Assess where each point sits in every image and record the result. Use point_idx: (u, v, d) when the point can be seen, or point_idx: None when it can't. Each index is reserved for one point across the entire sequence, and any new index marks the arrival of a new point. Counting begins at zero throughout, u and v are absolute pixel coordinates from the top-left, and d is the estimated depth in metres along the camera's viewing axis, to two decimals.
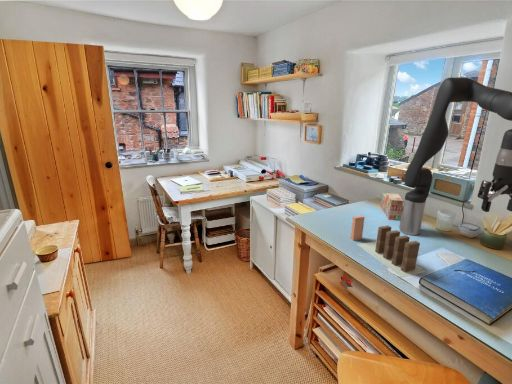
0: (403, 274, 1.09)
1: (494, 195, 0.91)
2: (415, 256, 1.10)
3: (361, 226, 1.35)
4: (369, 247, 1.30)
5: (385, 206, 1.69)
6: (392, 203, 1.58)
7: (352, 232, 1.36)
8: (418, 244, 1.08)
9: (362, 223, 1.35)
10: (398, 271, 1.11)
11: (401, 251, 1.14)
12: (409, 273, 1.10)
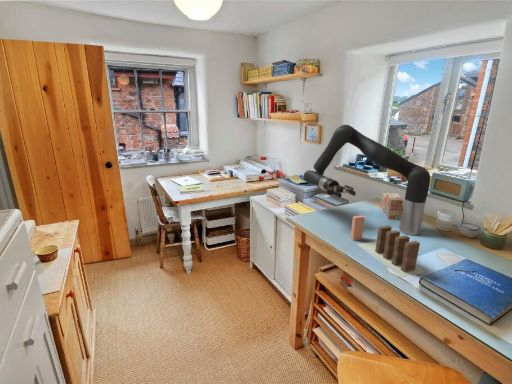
0: (403, 274, 1.09)
1: None
2: (415, 256, 1.10)
3: (361, 226, 1.35)
4: (369, 247, 1.30)
5: (385, 206, 1.70)
6: (392, 203, 1.58)
7: (352, 232, 1.36)
8: (418, 244, 1.08)
9: (362, 223, 1.35)
10: (398, 271, 1.11)
11: (401, 251, 1.14)
12: (409, 273, 1.10)
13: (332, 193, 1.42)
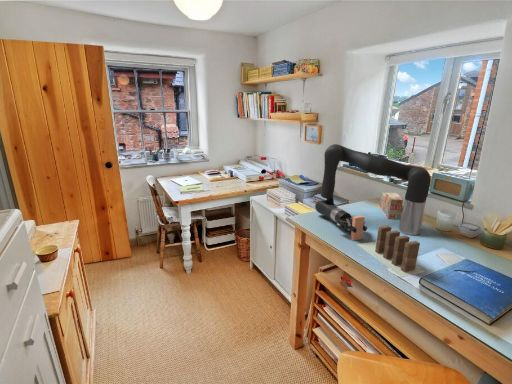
0: (403, 274, 1.09)
1: None
2: (415, 256, 1.10)
3: (361, 226, 1.35)
4: (369, 247, 1.30)
5: (384, 205, 1.70)
6: (392, 202, 1.59)
7: (352, 232, 1.36)
8: (418, 244, 1.08)
9: (362, 223, 1.35)
10: (398, 271, 1.11)
11: (401, 251, 1.14)
12: (409, 273, 1.10)
13: (347, 228, 1.36)
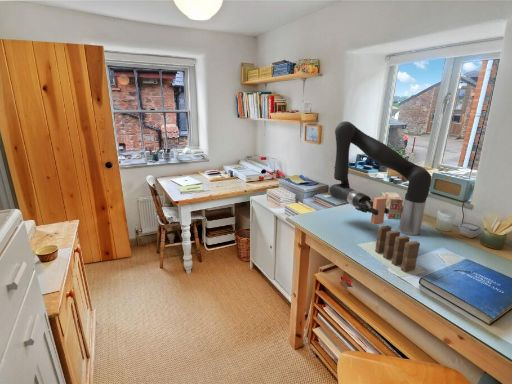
0: (403, 274, 1.09)
1: None
2: (415, 256, 1.10)
3: (383, 208, 1.24)
4: (369, 247, 1.30)
5: None
6: (392, 202, 1.59)
7: (373, 215, 1.25)
8: (418, 244, 1.08)
9: (384, 205, 1.24)
10: (398, 271, 1.11)
11: (401, 251, 1.14)
12: (409, 273, 1.10)
13: (367, 210, 1.25)
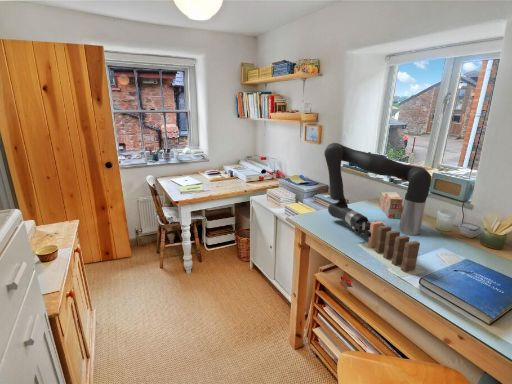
0: (403, 274, 1.09)
1: None
2: (415, 256, 1.10)
3: None
4: None
5: (384, 205, 1.71)
6: (391, 202, 1.60)
7: (370, 239, 1.29)
8: (418, 244, 1.08)
9: None
10: (398, 271, 1.11)
11: (401, 251, 1.14)
12: (409, 273, 1.10)
13: (360, 232, 1.29)
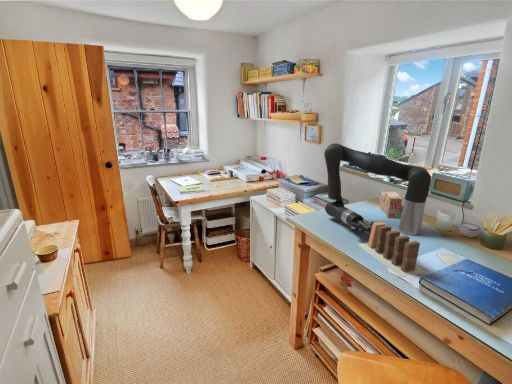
0: (403, 274, 1.09)
1: None
2: (415, 256, 1.10)
3: None
4: (369, 247, 1.30)
5: (383, 204, 1.72)
6: (391, 201, 1.60)
7: (370, 239, 1.28)
8: (418, 244, 1.08)
9: None
10: (398, 271, 1.11)
11: (401, 251, 1.14)
12: (409, 273, 1.10)
13: (364, 230, 1.32)
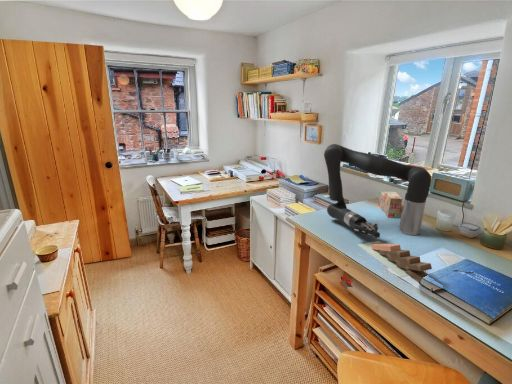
0: (403, 274, 1.09)
1: None
2: None
3: None
4: (369, 247, 1.30)
5: (383, 204, 1.72)
6: (391, 201, 1.60)
7: (377, 247, 1.24)
8: None
9: None
10: (398, 271, 1.11)
11: None
12: None
13: (368, 232, 1.30)
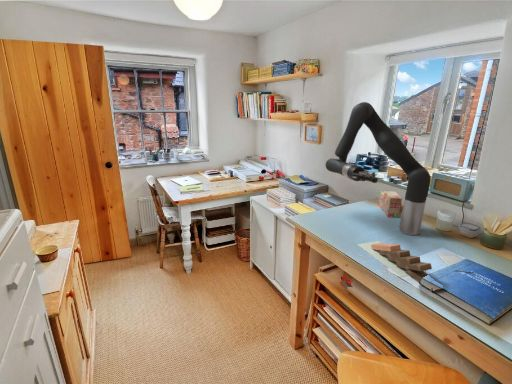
0: (403, 274, 1.09)
1: None
2: None
3: None
4: (369, 247, 1.30)
5: (383, 204, 1.73)
6: (391, 201, 1.61)
7: (377, 247, 1.24)
8: None
9: None
10: (398, 271, 1.11)
11: None
12: None
13: (366, 179, 1.31)
